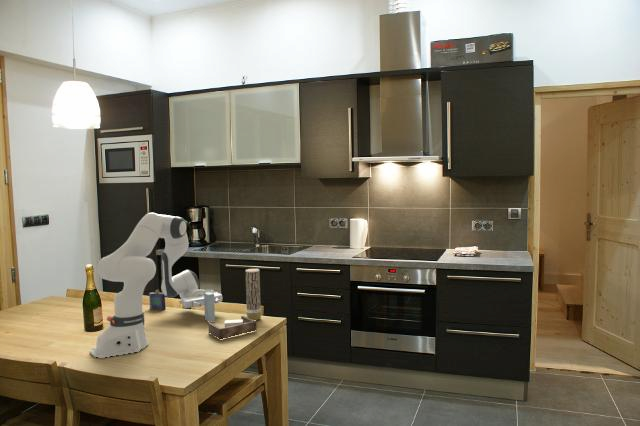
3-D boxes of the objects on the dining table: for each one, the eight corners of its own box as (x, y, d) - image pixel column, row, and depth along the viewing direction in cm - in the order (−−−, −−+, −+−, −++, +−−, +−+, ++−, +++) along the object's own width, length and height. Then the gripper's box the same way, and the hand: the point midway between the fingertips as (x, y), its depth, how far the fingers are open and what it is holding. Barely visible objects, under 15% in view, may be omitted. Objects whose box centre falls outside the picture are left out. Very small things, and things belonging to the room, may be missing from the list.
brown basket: (220, 340, 217) (220, 329, 217) (208, 333, 227) (208, 323, 226) (256, 332, 228) (256, 321, 228) (243, 325, 238) (243, 315, 237)
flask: (148, 309, 271) (148, 290, 270) (151, 308, 273) (151, 288, 273) (164, 310, 268) (163, 290, 268) (167, 308, 271) (166, 289, 270)
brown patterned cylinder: (244, 320, 246) (242, 270, 244) (252, 316, 252) (250, 268, 250) (255, 322, 243) (254, 271, 241) (263, 318, 249) (262, 269, 247)
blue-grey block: (209, 323, 243) (208, 294, 242) (205, 320, 247) (204, 293, 246) (214, 321, 245) (213, 293, 244) (210, 319, 249) (209, 292, 248)
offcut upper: (224, 329, 224) (224, 323, 224) (225, 326, 228) (225, 320, 228) (242, 328, 225) (242, 322, 225) (243, 325, 229) (242, 319, 229)
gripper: (177, 295, 251) (188, 300, 240) (215, 289, 264) (226, 293, 253) (178, 307, 252) (188, 313, 241) (215, 300, 264) (227, 305, 253)
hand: (208, 303), depth 247 cm, fingers open, 8 cm apart
